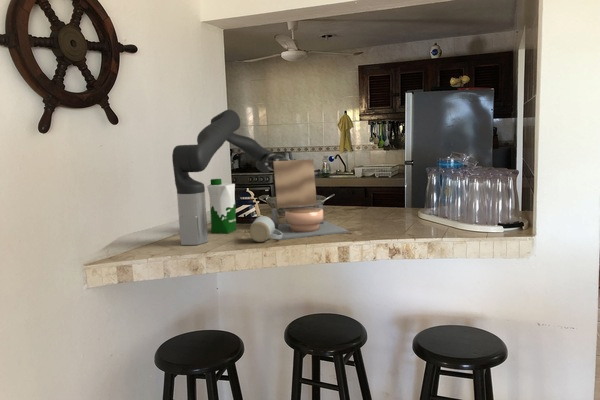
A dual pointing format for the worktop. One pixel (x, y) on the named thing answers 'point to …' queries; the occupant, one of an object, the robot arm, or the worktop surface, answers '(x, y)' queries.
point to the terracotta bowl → (304, 219)
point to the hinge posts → (275, 220)
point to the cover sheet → (294, 184)
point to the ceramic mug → (264, 229)
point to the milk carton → (222, 206)
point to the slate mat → (324, 230)
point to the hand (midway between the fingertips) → (287, 164)
